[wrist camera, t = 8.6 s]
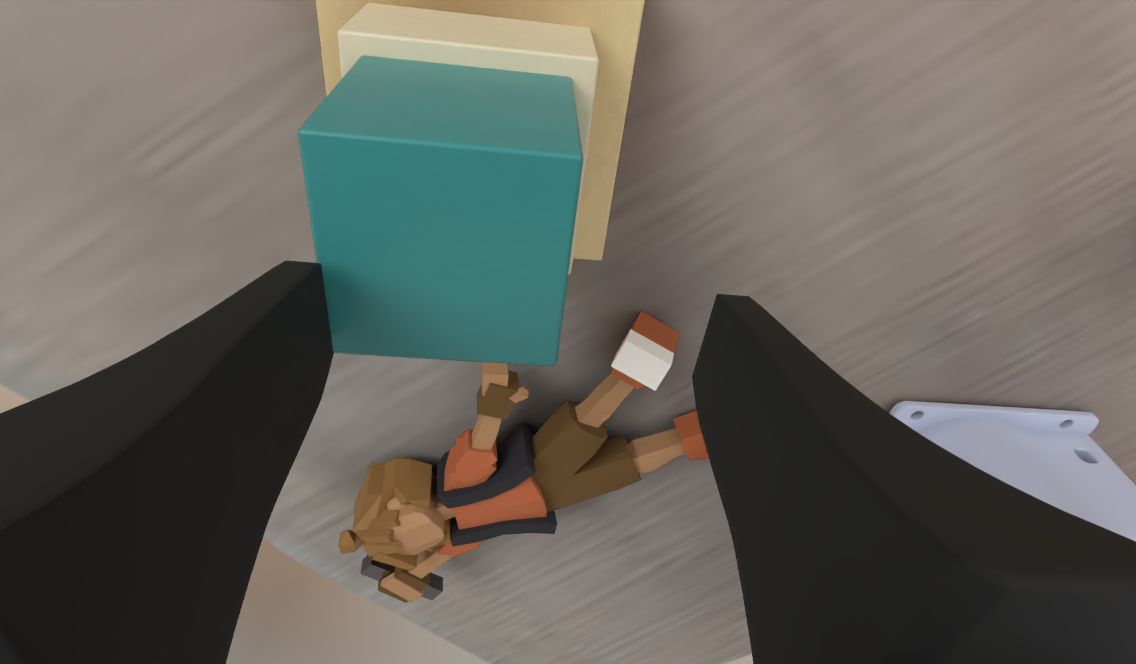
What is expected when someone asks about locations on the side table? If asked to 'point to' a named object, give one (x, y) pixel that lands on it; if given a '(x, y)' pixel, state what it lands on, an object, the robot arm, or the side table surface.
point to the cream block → (478, 50)
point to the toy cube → (444, 209)
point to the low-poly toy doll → (512, 470)
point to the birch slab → (615, 20)
